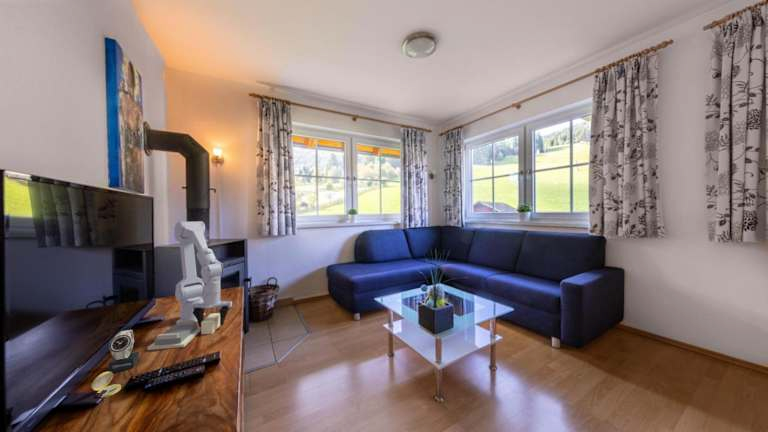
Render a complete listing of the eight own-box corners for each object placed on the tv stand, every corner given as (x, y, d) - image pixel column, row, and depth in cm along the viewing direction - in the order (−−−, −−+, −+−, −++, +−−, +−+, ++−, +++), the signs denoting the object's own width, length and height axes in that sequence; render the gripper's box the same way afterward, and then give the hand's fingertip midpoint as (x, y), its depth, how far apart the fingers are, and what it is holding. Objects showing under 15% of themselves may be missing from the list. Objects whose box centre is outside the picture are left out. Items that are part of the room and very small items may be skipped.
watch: (105, 377, 75) (105, 339, 74) (117, 362, 82) (117, 328, 82) (131, 371, 77) (131, 335, 77) (140, 358, 84) (141, 325, 84)
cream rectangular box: (210, 325, 110) (211, 313, 110) (221, 324, 111) (221, 312, 111) (201, 334, 101) (201, 322, 101) (212, 333, 102) (212, 321, 102)
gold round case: (106, 398, 66) (106, 379, 66) (89, 396, 67) (90, 377, 67) (125, 387, 71) (125, 369, 71) (109, 385, 71) (110, 367, 71)
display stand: (171, 331, 103) (171, 320, 103) (202, 329, 105) (202, 318, 105) (147, 350, 89) (147, 337, 89) (184, 346, 92) (184, 334, 92)
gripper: (187, 296, 101) (186, 331, 101) (228, 294, 104) (227, 327, 104) (195, 291, 107) (195, 323, 108) (234, 289, 111) (233, 320, 111)
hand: (211, 325), depth 106 cm, fingers open, 7 cm apart
